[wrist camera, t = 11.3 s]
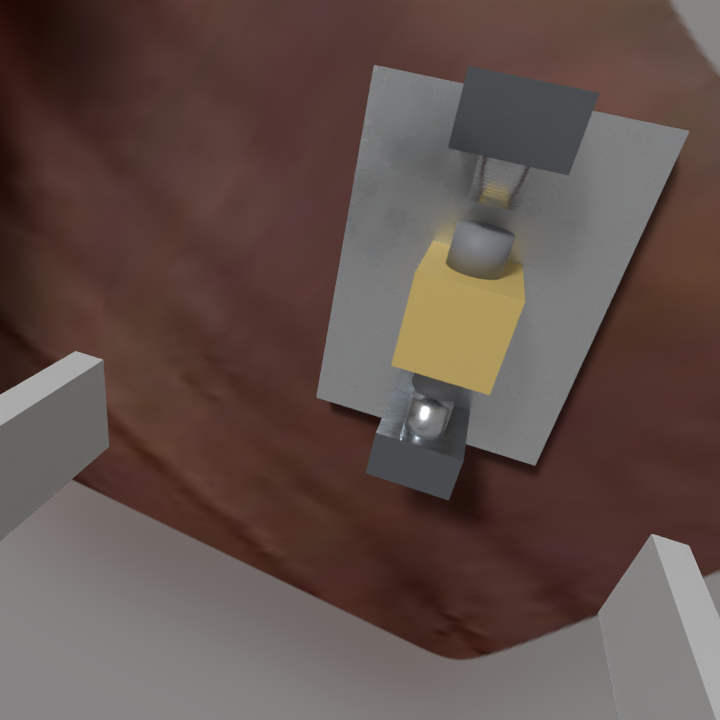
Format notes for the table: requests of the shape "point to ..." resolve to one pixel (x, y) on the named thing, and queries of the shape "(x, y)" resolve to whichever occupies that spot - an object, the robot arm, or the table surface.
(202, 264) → the table surface
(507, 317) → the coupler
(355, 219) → the grey mounting plate
